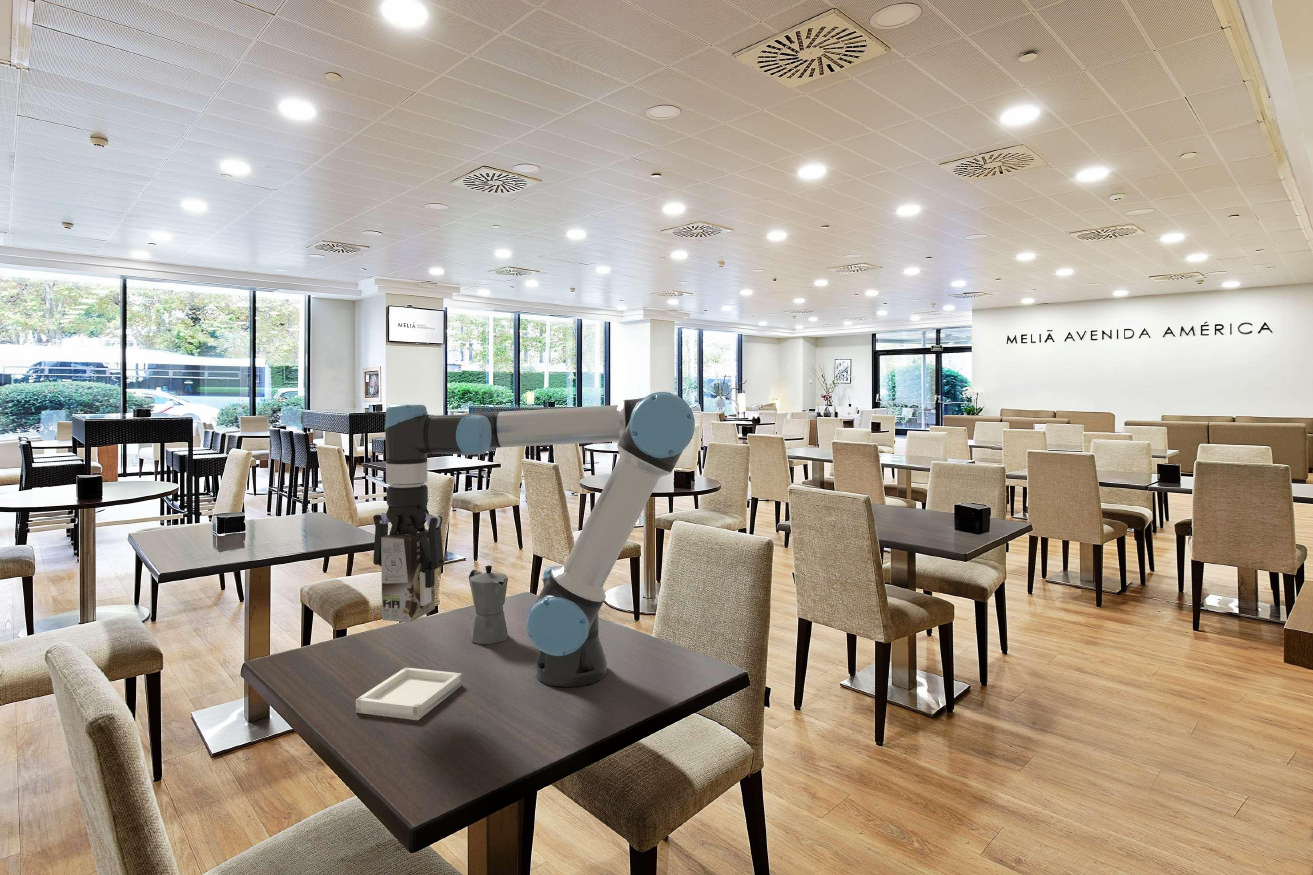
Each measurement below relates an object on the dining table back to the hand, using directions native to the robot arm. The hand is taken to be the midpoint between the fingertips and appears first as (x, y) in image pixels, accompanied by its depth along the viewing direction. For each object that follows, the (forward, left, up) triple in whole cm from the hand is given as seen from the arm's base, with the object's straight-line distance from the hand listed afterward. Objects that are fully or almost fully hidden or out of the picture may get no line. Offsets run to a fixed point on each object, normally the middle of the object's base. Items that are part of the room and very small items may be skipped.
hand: (409, 602), depth 137 cm
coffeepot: (+2, -36, -19) cm, 41 cm away
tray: (0, 0, -19) cm, 19 cm away
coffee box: (0, 0, -3) cm, 3 cm away
